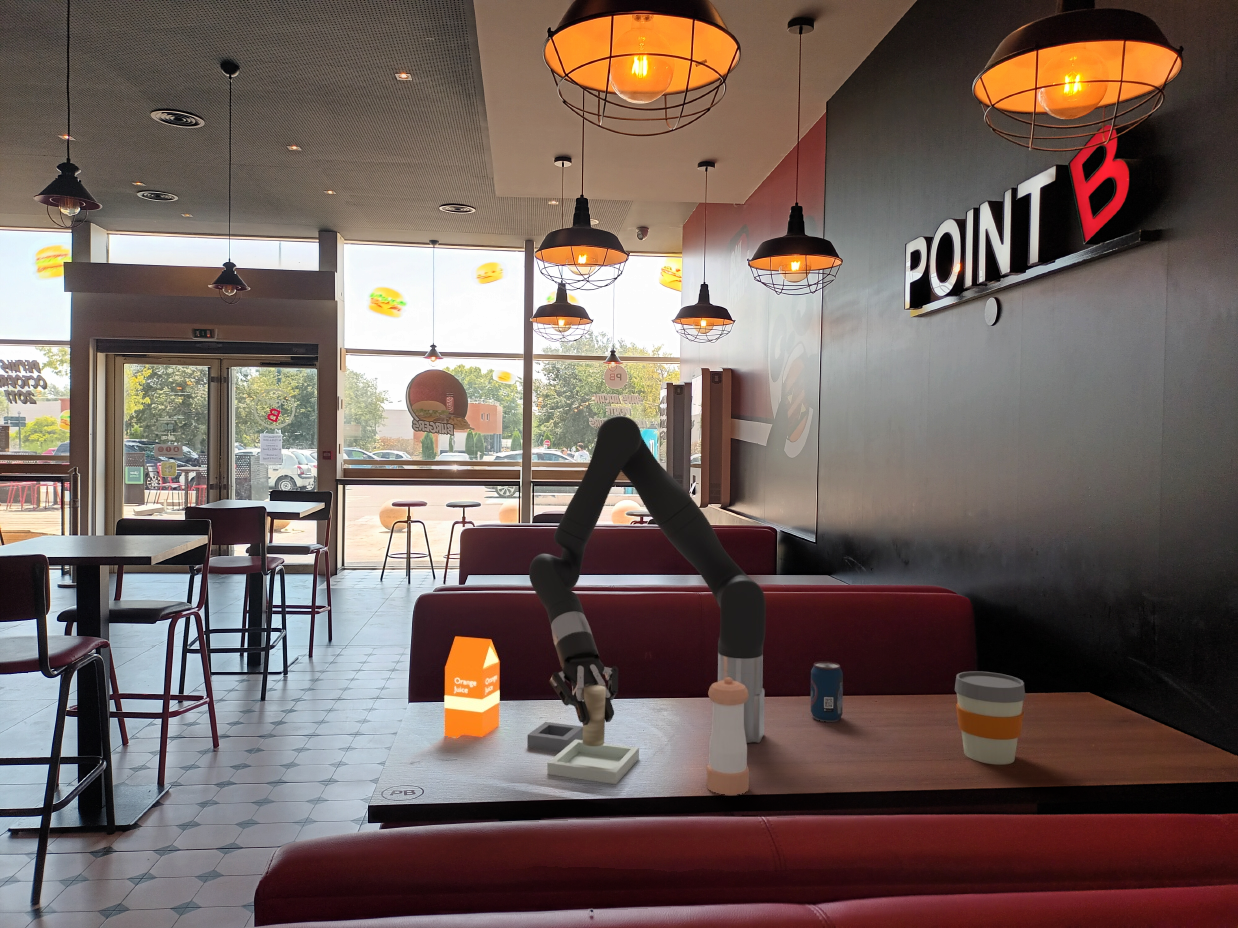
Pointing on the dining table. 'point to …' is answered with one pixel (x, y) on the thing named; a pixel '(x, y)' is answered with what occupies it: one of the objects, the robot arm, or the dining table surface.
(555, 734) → the grey square socket
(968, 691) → the reusable coffee cup
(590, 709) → the dowel
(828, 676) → the soda can
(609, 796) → the dining table surface
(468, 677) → the orange juice
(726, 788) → the pepper shaker
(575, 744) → the tray
